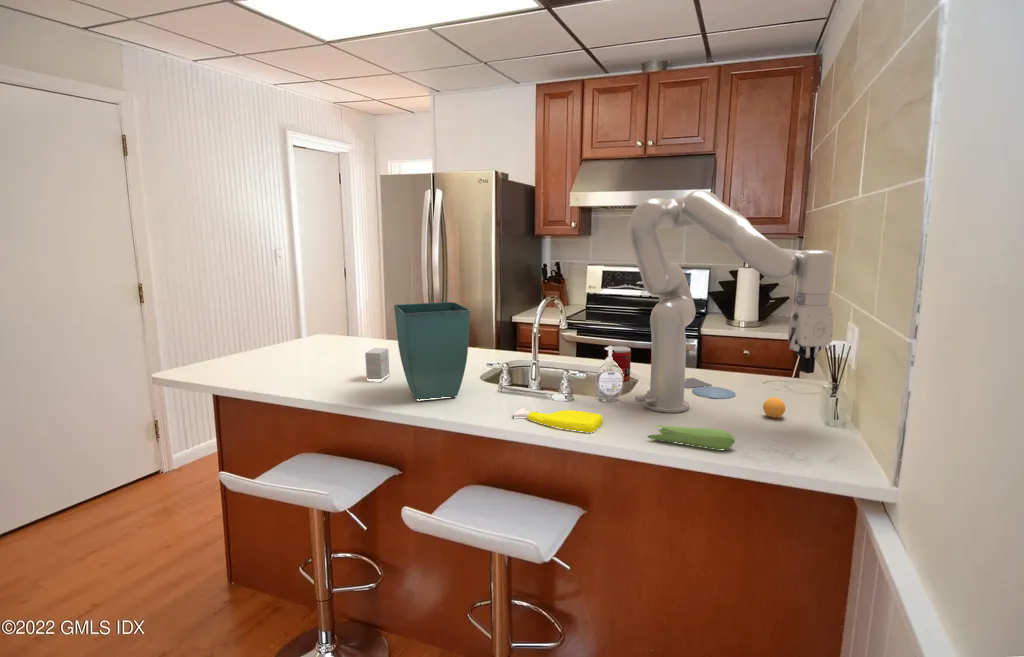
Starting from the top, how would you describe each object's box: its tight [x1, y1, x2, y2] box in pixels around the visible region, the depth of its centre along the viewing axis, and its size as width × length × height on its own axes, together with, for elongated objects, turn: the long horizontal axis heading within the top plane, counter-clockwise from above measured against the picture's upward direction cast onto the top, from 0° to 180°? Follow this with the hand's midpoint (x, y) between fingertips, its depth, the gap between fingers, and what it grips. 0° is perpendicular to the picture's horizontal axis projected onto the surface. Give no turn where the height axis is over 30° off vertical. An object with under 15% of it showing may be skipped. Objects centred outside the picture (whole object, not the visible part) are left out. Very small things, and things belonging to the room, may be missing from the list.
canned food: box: [606, 345, 632, 383], centre depth 191 cm, size 8×8×11 cm
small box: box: [364, 347, 390, 379], centre depth 194 cm, size 8×6×10 cm
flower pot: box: [393, 301, 471, 400], centre depth 173 cm, size 20×20×28 cm
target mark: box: [691, 386, 737, 400], centre depth 175 cm, size 13×13×1 cm
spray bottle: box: [512, 407, 604, 432], centre depth 150 cm, size 3×11×24 cm
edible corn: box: [646, 424, 736, 451], centre depth 133 cm, size 5×20×5 cm
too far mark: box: [684, 377, 713, 389], centre depth 186 cm, size 10×10×1 cm
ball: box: [762, 397, 786, 419], centre depth 151 cm, size 6×6×6 cm
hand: (806, 371), depth 140 cm, fingers closed
